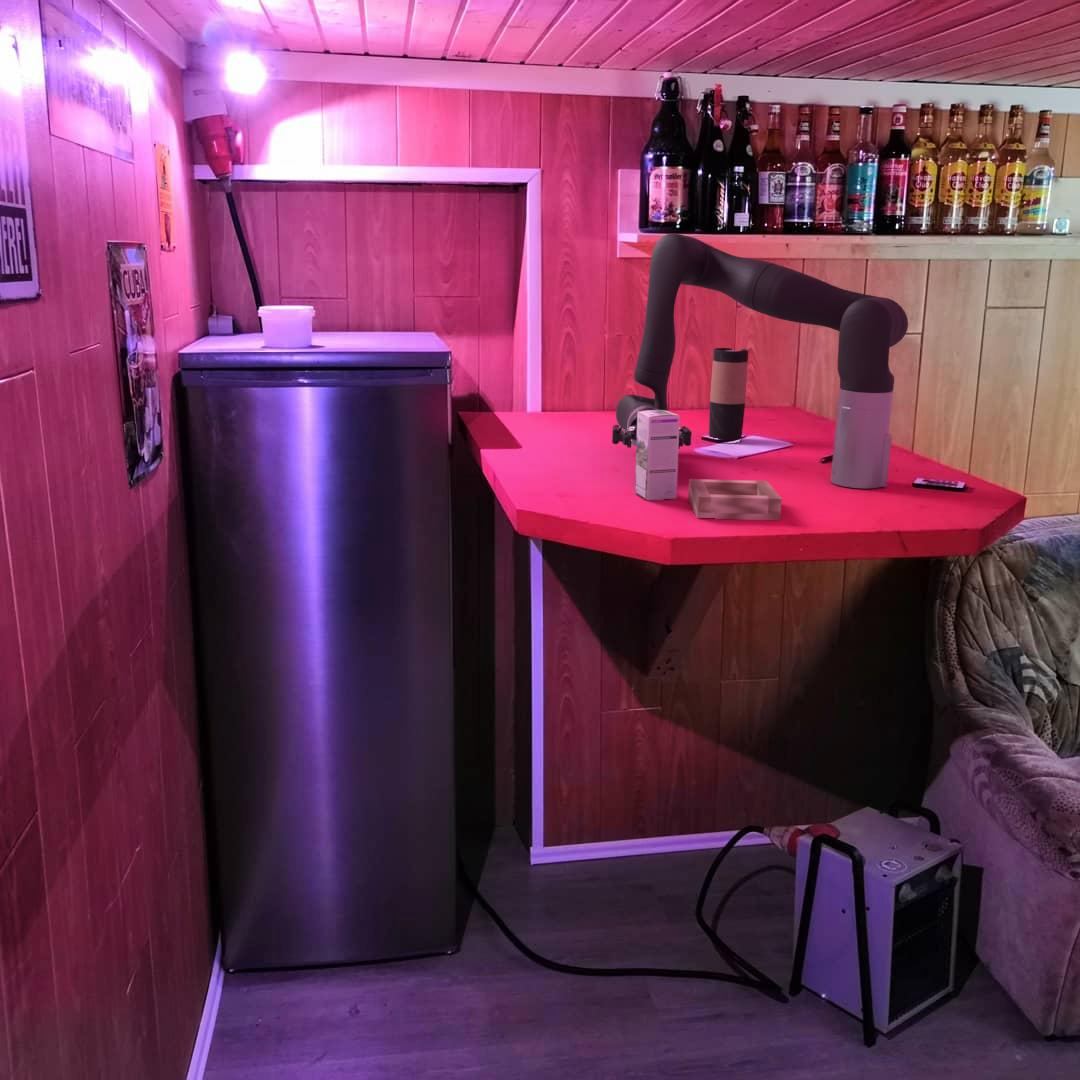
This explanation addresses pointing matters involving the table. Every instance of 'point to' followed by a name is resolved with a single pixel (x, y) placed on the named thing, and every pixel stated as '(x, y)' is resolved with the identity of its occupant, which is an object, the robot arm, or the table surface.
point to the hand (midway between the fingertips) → (653, 442)
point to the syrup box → (657, 454)
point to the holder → (734, 499)
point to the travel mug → (728, 393)
